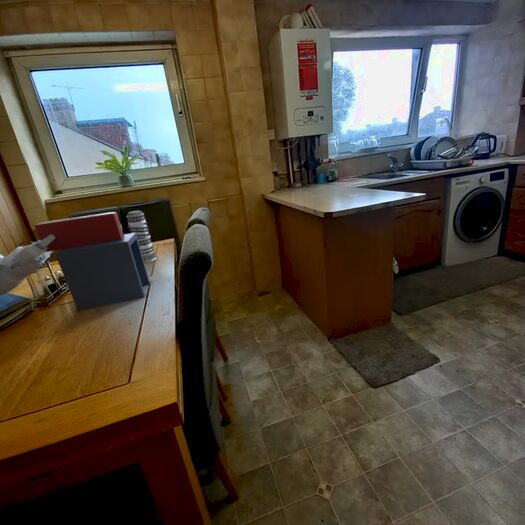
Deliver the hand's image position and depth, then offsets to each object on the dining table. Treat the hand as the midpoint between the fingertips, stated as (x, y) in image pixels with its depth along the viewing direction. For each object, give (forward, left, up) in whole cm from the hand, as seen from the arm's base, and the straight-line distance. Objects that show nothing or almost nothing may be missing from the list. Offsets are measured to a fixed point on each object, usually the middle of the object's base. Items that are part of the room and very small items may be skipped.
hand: (58, 233), depth 93 cm
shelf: (+11, 0, -26) cm, 28 cm away
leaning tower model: (+16, +40, -26) cm, 51 cm away
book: (+7, 0, -5) cm, 9 cm away
